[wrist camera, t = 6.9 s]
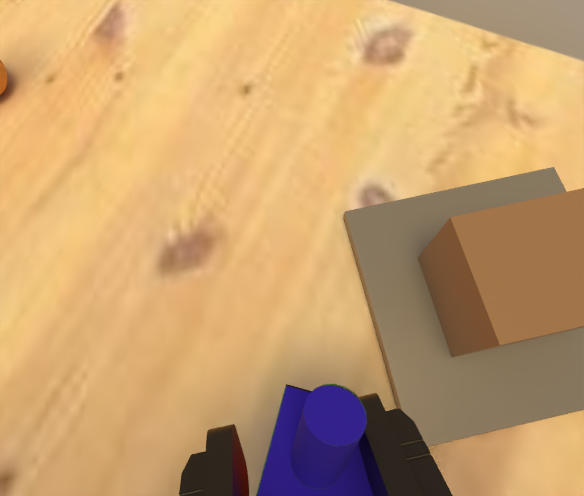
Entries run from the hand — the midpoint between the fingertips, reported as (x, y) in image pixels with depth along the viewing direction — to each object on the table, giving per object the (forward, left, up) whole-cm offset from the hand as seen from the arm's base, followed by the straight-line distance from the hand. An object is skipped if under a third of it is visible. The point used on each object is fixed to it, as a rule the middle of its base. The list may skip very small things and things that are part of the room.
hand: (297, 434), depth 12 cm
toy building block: (0, -2, -4) cm, 5 cm away
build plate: (+12, +4, -12) cm, 18 cm away
